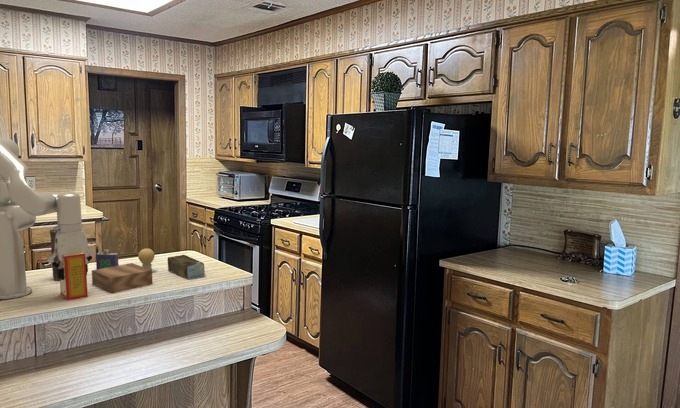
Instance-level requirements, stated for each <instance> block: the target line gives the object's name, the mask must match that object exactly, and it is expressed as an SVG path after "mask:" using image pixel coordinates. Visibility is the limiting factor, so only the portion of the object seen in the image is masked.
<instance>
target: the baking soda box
mask: <svg viewBox="0 0 680 408" xmlns="http://www.w3.org/2000/svg"><path fill="white" fill-rule="evenodd" d="M62 269H64V280H59V286H60V287H59V288H60V295H62V296H61V297H63V298H64V299H65V300H66V301H72V300H76V299H77V300H78V299H81V298H83V299H84V298H88V293H89V292H88V281H87V277H88V276H87V275H86V259H85V253H83V252H82V253H76V254H71V255H65V256H64V262H63V267H62Z"/></svg>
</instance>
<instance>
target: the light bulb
mask: <svg viewBox="0 0 680 408" xmlns="http://www.w3.org/2000/svg"><path fill="white" fill-rule="evenodd" d="M154 259H155V252H154V250H152V249H151V248H142V249H141V250H140V251H139V252H138V260H139V261H140V263H141V266H142V267H145V268H148V269H150V270H152V271H153V269H152V268H153V267H152V263H153V262H154Z"/></svg>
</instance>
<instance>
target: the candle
mask: <svg viewBox="0 0 680 408" xmlns="http://www.w3.org/2000/svg"><path fill="white" fill-rule="evenodd" d="M56 233H58V231H57V230H55V231H54V228H51V229H49V235H50V249H51V250H50V251H51V254H52V253H53V252H54V251H55V237H56ZM53 261H54V262H56V263H57V261H58V260H56V259H55V258H54V259H53ZM51 268H52V279H53V281H60V279H59V278H58V277H57V268H55V267H54V266H53V265H51Z"/></svg>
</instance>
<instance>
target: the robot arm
mask: <svg viewBox="0 0 680 408" xmlns="http://www.w3.org/2000/svg"><path fill="white" fill-rule="evenodd" d="M19 155H20V147H19V146H18V144H17V142H15V141H14V140H13V139H11V138H7V137H0V178H1V179H2V180H3V181H4V182H3V181H0V300H8V299H9V300H10V299H16V298H21V297H25V296H27V295H30V294H31V293H32V292H33V288H32V287H31V286H28V285H27V275H26V263H25V249H24V242H23V239H22V236H21V234H20V233H19V232H21V231H24V230H27V229H29V228H32V227H33V226H34V224H35V223H36V221H37V217H41V216H44V215H48V214H54V213H56V219H57V221H56V223H57V224H56V226H53V229H54V231H55V230H57V231H58V233H56V237H55V251H54V252H53V253H52V252H51V254H50V255H49V256H48V257H47V258H46V261H47V262H48V263H49V264H50V265H51V266H52V265H53V266H54V267H55V268H57V277H58V278H59V279H60V280H64V269H62V267H63V262H64V256H65V255H71V254H76V253H82V252H83V253H85V259H86V276H87V275H88V272H89V267H88V265H89V264H90V261H91V260H92V259H93V257H94V256H95V255H96V250H93V249H92V248H90V247H89V242H88V238H87V233H86V231H85V230H83V224H82V222H83V221H82V204H81V202H82V201H81V196H80V195H79V193H76V192H57V191H48V192H47V191H45V192H40V193H37V192H36V191H35V190H34V189H33V188H31V187H30V186H29V184H28V183H27V182H26V180H25V176H26V175H27V174H28V172H29V167H28V166H27V164H26V163H25V162H23V161H22V160H21V158H19ZM54 258H55V259H56V260H58V261H57V263H56V262H54V261H53V259H54ZM60 280H59V281H60Z"/></svg>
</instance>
